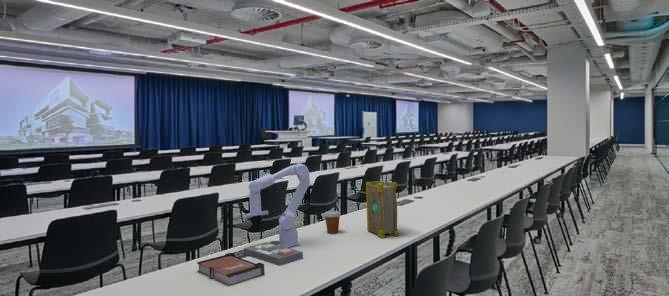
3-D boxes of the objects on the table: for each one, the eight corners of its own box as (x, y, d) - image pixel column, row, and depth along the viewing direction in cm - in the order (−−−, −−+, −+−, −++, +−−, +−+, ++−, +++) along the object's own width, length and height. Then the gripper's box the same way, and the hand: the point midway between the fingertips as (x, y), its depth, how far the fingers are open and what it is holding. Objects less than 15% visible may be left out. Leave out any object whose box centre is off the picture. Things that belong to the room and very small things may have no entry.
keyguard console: (266, 247, 215) (266, 241, 215) (302, 258, 196) (302, 251, 195) (243, 254, 205) (243, 247, 205) (279, 265, 185) (279, 258, 185)
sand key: (261, 248, 210) (261, 244, 210) (267, 250, 207) (267, 246, 207) (253, 250, 207) (253, 246, 207) (259, 252, 204) (259, 248, 203)
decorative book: (366, 231, 244) (364, 180, 243) (382, 229, 248) (381, 179, 247) (382, 239, 225) (380, 184, 224) (399, 236, 229) (398, 182, 228)
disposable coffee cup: (327, 235, 237) (326, 214, 237) (323, 231, 246) (322, 211, 246) (342, 233, 240) (342, 213, 239) (338, 230, 249) (337, 210, 249)
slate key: (277, 253, 201) (277, 249, 201) (283, 255, 198) (283, 250, 198) (269, 255, 198) (269, 251, 198) (275, 257, 195) (275, 253, 194)
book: (196, 272, 180) (195, 261, 180) (231, 263, 193) (231, 252, 193) (227, 287, 162) (226, 274, 162) (264, 275, 174) (264, 264, 174)
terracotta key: (286, 252, 197) (285, 248, 197) (292, 254, 193) (292, 250, 193) (278, 255, 193) (277, 250, 193) (284, 257, 190) (284, 252, 190)
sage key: (269, 248, 206) (269, 243, 206) (275, 249, 202) (275, 245, 202) (261, 250, 202) (261, 245, 202) (267, 251, 199) (267, 247, 199)
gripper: (262, 201, 221) (263, 226, 222) (238, 205, 211) (239, 232, 211) (270, 202, 216) (271, 228, 217) (246, 207, 206) (247, 234, 206)
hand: (256, 230), depth 214 cm, fingers closed
